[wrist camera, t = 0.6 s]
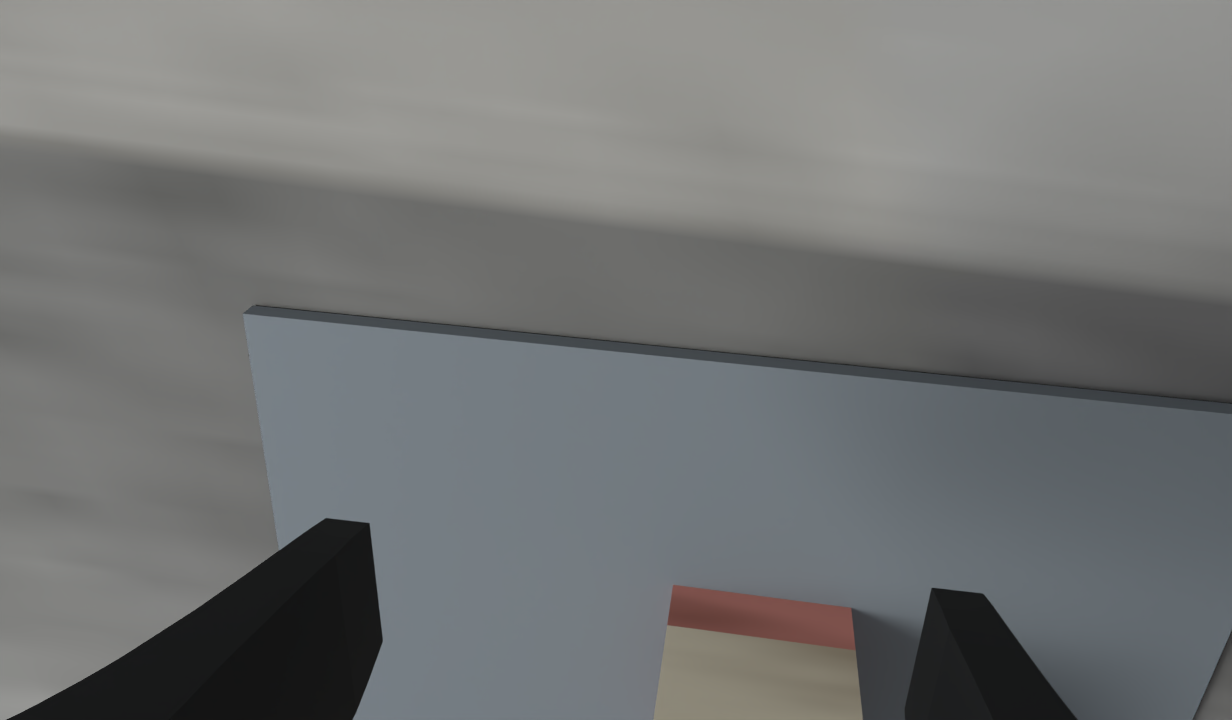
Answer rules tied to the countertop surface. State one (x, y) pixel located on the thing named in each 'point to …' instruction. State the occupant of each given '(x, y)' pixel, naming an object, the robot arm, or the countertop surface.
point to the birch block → (756, 659)
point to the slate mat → (735, 511)
